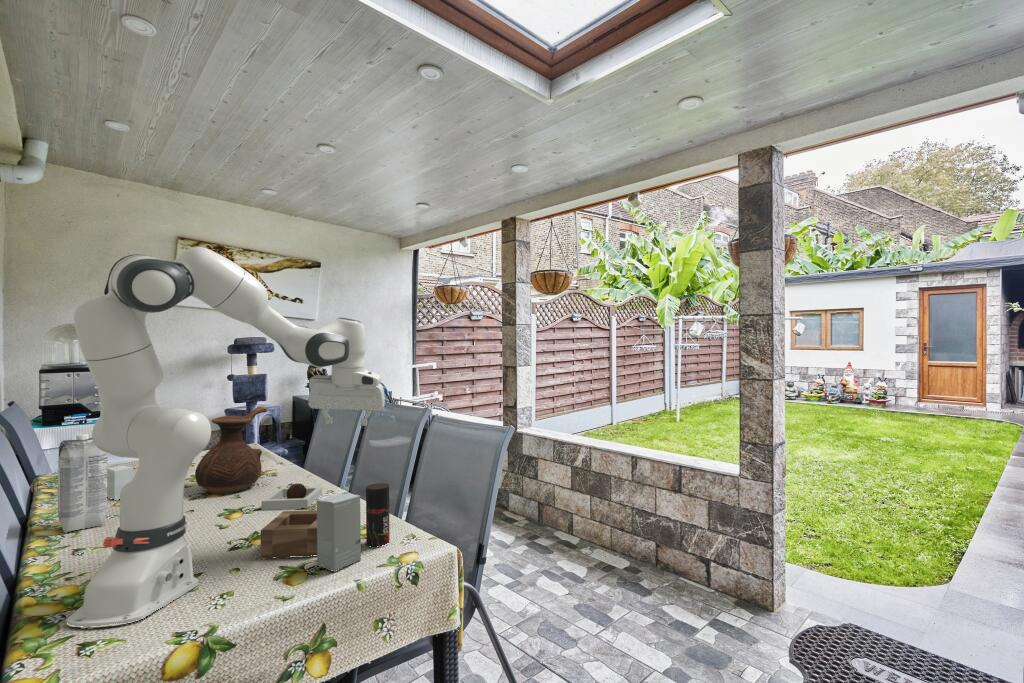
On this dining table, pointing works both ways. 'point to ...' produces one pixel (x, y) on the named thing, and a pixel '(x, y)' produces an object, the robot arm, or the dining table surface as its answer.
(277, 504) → the watch tray
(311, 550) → the holder
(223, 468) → the jug
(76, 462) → the juice carton
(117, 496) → the small box
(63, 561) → the dining table surface
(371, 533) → the deodorant
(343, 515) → the skincare box
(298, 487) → the compass
